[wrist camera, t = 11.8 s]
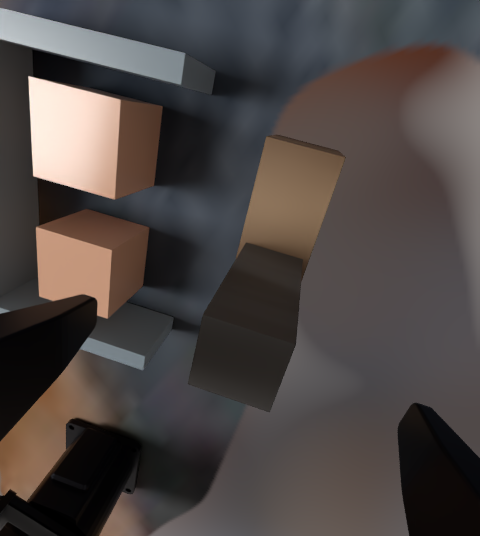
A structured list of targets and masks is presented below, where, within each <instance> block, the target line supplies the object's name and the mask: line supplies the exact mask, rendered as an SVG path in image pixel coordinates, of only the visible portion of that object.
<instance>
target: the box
mask: <svg viewBox="0 0 480 536" xmlns="http://www.w3.org/2000/svg"><path fill="white" fill-rule="evenodd" d="M32 49H33V50H37V51H41V52H45V53H49V54H53V55H56V56H60V57H64V58H68V59H72V60H76V61H80V62H84V63H88V64H92V65H96V66H100V67H104V68H108V69H111V70H115V71H119V72H123V73H127V74H131V75H135V76H139V77H143V78H147V79H151V80H155V81H159V82H163V83H166V84H170V85H174V86H178V87H182V88H186V89H190V90H194V91H198V92H202V93H206V94H210V95H212V90H213V84H214V78H215V73H216V71H215V70H213V69H211V68H210V67H208V66H206V65H204V64H203V63H201V62H199V61H198V60H196V59H194V58H193V57H191V56H189V55H188V54H186V53H183V52H178V51H174V50H170V49H166V48H162V47H158V46H154V45H150V44H146V43H142V42H138V41H133V40H129V39H125V38H121V37H117V36H113V35H109V34H105V33H101V32H97V31H93V30H88V29H84V28H80V27H76V26H72V25H68V24H64V23H60V22H56V21H52V20H48V19H43V18H39V17H35V16H31V15H27V14H23V13H19V12H15V11H11V10H7V9H2V8H0V314H1V313H5V312H9V311H14V310H18V309H22V308H26V307H30V306H35V305H39V304H43V303H47V302H51V301H52V300H49V299H46V298H42V297H39V283H38V262H37V241H36V227H37V226H39V205H38V180H37V177H34V176H33V161H32V140H31V119H30V99H29V78H28V76H31V77H33V55H32ZM173 319H174V317H171V316H168V315H165V314H162V313H159V312H156V311H153V310H149V309H146V308H143V307H140V306H137V305H134V304H131V303H128V302H125V303H124V304H123V305H122V306H121V307H120V308H119V309H118V310H117V311H116V312H114V313H113V314H112V315H111V316H110V317H109V318H108V319H107V318H103V317H100V316H97V323H96V326H95V328H94V330H93V331H92V333H91V334H90V335H89V337H88V338H87V340H86V341H85V342H84V344H83V345H82V346H81V348H80V349H82V350H85V351H88V352H91V353H94V354H97V355H100V356H103V357H105V358H108V359H111V360H114V361H117V362H120V363H123V364H126V365H129V366H132V367H135V368H138V369H141V370H144V368H145V367H146V366H147V364H148V363H149V361H150V360H151V358H152V357H153V356H154V354H155V353H156V351H157V350H158V348H159V347H160V346H161V344H162V343H163V341H164V340H165V338H166V337H167V336H168V334H169V333H170V331H171V330H172V325H173Z"/></svg>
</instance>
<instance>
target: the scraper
mask: <svg viewBox="0 0 480 536" xmlns="http://www.w3.org/2000/svg"><path fill="white" fill-rule="evenodd" d="M345 158H346V157H345V156H343V155H342V154H341V153H340V152H339V151H337V150H333V149H330V148H326V147H322V146H318V145H315V144H311V143H307V142H303V141H299V140H295V139H292V138H288V137H284V136H280V135H272V136H266V140H265V144H264V148H263V152H262V156H261V160H260V164H259V168H258V172H257V176H256V180H255V184H254V188H253V192H252V196H251V200H250V204H249V208H248V212H247V216H246V220H245V224H244V228H243V232H242V236H241V240H240V244H239V248H238V252H237V256H236V260H235V262H234V263H233V265H232V267H231V268H230V270H229V272H228V273H227V275H226V277H225V278H224V280H223V282H222V284H221V285H220V287H219V289H218V290H217V292H216V294H215V295H214V297H213V299H212V300H211V302H210V304H209V305H208V307H207V309H206V310H205V312H204V314H203V317H202V321H201V326H200V330H199V335H198V340H197V344H196V349H195V353H194V358H193V362H192V367H191V371H190V376H189V381H188V384H189V385H192V386H195V387H198V388H200V389H203V390H206V391H209V392H212V393H215V394H218V395H221V396H224V397H227V398H229V399H232V400H235V401H238V402H241V403H244V404H247V405H250V406H253V407H256V408H258V409H261V410H264V411H267V412H270V410H271V407H272V405H273V402H274V400H275V397H276V394H277V392H278V389H279V387H280V384H281V382H282V379H283V376H284V374H285V371H286V369H287V366H288V363H289V361H290V358H291V356H292V353H293V351H294V348H295V345H296V336H297V324H298V312H299V300H300V288H301V287H300V286H301V281H302V278H303V275H304V273H305V270H306V267H307V264H308V261H309V259H310V256H311V253H312V250H313V247H314V245H315V242H316V239H317V236H318V234H319V231H320V228H321V225H322V222H323V220H324V217H325V214H326V211H327V208H328V206H329V203H330V200H331V197H332V194H333V192H334V189H335V186H336V183H337V180H338V178H339V175H340V172H341V169H342V167H343V164H344V161H345Z"/></svg>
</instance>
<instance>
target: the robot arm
mask: <svg viewBox="0 0 480 536" xmlns="http://www.w3.org/2000/svg"><path fill="white" fill-rule="evenodd" d="M97 306H98V302H97V299H96V298H94V297H91V296H88V295H85V294H80V295H76V296H72V297H68V298H64V299H60V300H55V301H51V302H47V303H43V304H39V305H35V306H30V307H26V308H22V309H18V310H14V311H9V312H5V313H1V314H0V441H1V440H2V439H3V438H4V437H5V435H6V434H7V433H8V432H9V431H10V430H11V429H12V428H13V427H14V425H15V424H16V423H17V422H18V421H19V420H20V419H21V418H22V417H23V416H24V414H25V413H26V412H27V411H28V410H29V409H30V408H31V407H32V406H33V404H34V403H35V402H36V401H37V400H38V399H39V398H40V397H41V396H42V395H43V393H44V392H45V391H46V390H47V389H48V388H49V387H50V386H51V385H52V383H53V382H54V381H55V380H56V379H57V378H58V377H59V376H60V374H61V373H62V372H63V371H64V369H65V368H66V367H67V366H68V364H69V363H70V361H71V360H72V359H73V357H74V356H75V355H76V353H77V352H78V351H79V349H80V348H81V346H82V345H83V344H84V342H85V341H86V340H87V338H88V337H89V335H90V334H91V333H92V331H93V330H94V328H95V326H96V323H97ZM398 445H399V458H400V459H399V460H400V474H401V487H402V495H403V502H404V507H405V513H406V519H407V525H408V531H409V536H480V458H479V457H478V456H477V455H476V454H475V453H474V452H473V451H472V450H471V449H470V448H469V446H467V444H466V443H465V442H464V441H463V440H462V439H461V438H460V437H459V436H458V435H457V434H456V433H455V432H454V431H453V430H452V429H451V428H450V427H449V426H448V425H447V423H446V422H445V421H444V420H443V419H442V418H441V417H440V416H439V415H438V414H437V413H436V412H435V411H434V410H433V409H432V408H431V407H428V406H425V405H422V404H419V403H413V404H412V405H411V406H410V407H409V409H408V410H407V412H406V414H405V415H404V417H403V418H402V420H401V421H400V423H399V426H398ZM141 449H142V446H141V445H140V444H139V443H138V442H135V441H133V440H130V439H127V438H124V437H122V436H119V435H116V434H113V433H111V432H108V431H105V430H102V429H100V428H97V427H94V426H91V425H89V424H86V423H83V422H80V421H78V420H75V419H71V420H69V422H68V423H67V424H66V451H65V452H64V453H63V455H62V456H61V457H60V459H59V460H58V461H57V462H56V464H55V465H54V466H53V468H52V469H51V470H50V472H49V473H48V474H47V475H46V477H45V478H44V479H43V481H42V482H41V483H40V485H39V486H38V487H37V488H36V490H35V491H34V492H33V494H32V495H31V496H30V498H29V499H28V500H27V502H26V501H25V500H23V499H21V498H20V497H18V496H17V495H16V494H17V493H15V492H14V491H12V490H11V489H10V490H9V491H8V492H7V493H6V495H5V496H0V536H99V535H100V533H101V531H102V529H103V527H104V525H105V523H106V521H107V520H108V518H109V516H110V514H111V512H112V510H113V508H114V506H115V504H116V502H117V500H118V499H119V497H120V495H121V493H122V492H125V493H127V494H133V492H134V490H135V488H136V482H137V476H138V469H139V462H140V456H141Z"/></svg>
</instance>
